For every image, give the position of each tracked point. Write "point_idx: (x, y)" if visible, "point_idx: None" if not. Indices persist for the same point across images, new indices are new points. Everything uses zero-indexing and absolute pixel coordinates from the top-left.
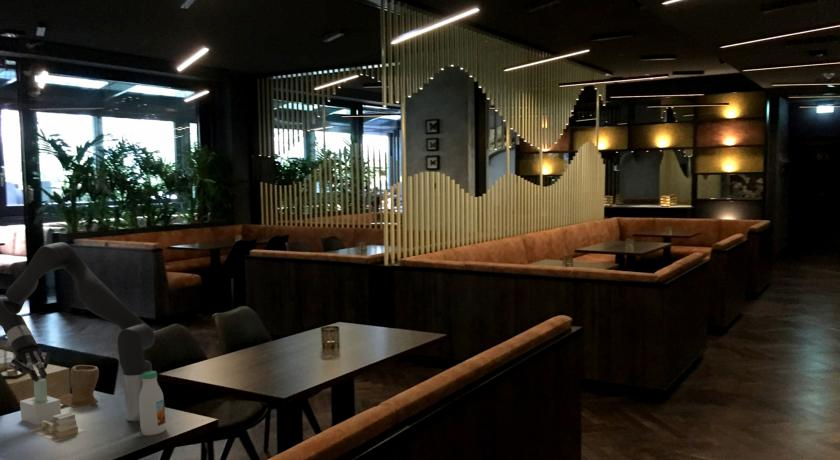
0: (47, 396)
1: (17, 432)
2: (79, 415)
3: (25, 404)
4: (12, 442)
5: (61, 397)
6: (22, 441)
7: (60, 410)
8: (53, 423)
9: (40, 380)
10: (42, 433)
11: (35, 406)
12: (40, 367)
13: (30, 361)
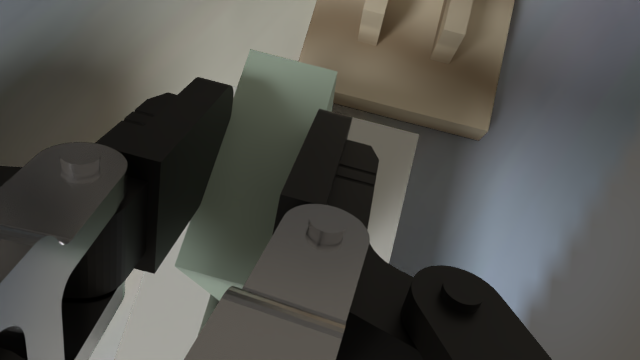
0: (146, 301)
1: None
2: (100, 135)
3: None
4: (599, 142)
5: None
6: (564, 96)
7: None
8: None
9: (329, 74)
10: (491, 10)
11: (417, 141)
12: (129, 177)
13: (238, 343)
